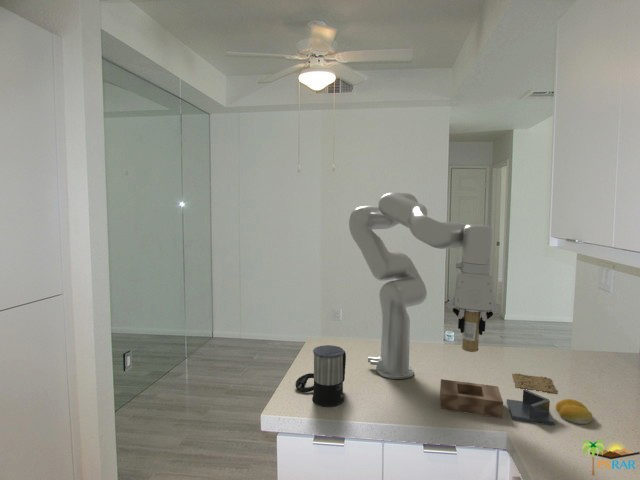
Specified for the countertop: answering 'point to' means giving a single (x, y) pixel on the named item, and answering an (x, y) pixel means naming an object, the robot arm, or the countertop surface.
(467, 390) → the wooden block with hole
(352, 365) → the countertop surface
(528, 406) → the v block
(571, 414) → the bread roll
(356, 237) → the robot arm
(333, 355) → the milk frother
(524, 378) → the cookie
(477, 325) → the sprinkles bottle
